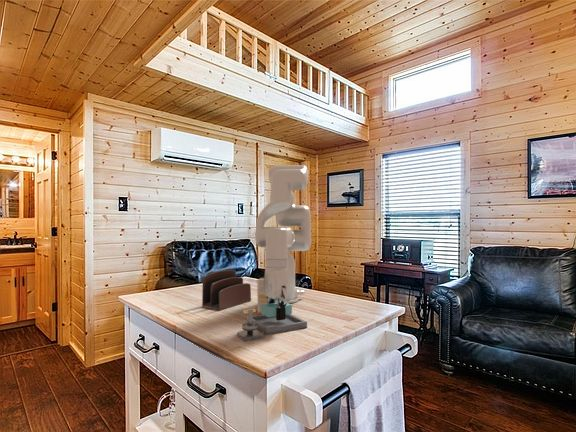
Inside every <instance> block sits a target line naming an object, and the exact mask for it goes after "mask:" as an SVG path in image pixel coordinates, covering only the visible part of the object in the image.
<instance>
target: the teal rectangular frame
mask: <svg viewBox="0 0 576 432" xmlns="http://www.w3.org/2000/svg"><path fill="white" fill-rule="evenodd" d="M280 303H281V302H280ZM276 308H278V307H277V303H270V304H262V305H261V314H260V315H265V316H267V317H274V316H276ZM292 309H293V304H292V303H287V305H286V315H288V314H292V313H293V310H292ZM292 315H293V314H292Z"/></svg>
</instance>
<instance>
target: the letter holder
mask: <svg viewBox="0 0 576 432" xmlns="http://www.w3.org/2000/svg"><path fill="white" fill-rule="evenodd" d="M236 275H237V274H236V270H233V269H223V270H218V271H213V272H211V273H208V274H205V275H203V277H202V285H201V286H202V288H201V290H202V292H201V293H202V294H201V295H202V297H201V298H202V299H201V301H202V303H201V307H202V308H203V309H208V310H213V311H218V312H221V311H223V310H227V309H230V308H234V307H236V306H238V305H243V304H246V303H248V302H251V301H252V295H251V294H252V293H251V289H252V288H251V284H250V283H244V278H243V277H240V276H236Z"/></svg>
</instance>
